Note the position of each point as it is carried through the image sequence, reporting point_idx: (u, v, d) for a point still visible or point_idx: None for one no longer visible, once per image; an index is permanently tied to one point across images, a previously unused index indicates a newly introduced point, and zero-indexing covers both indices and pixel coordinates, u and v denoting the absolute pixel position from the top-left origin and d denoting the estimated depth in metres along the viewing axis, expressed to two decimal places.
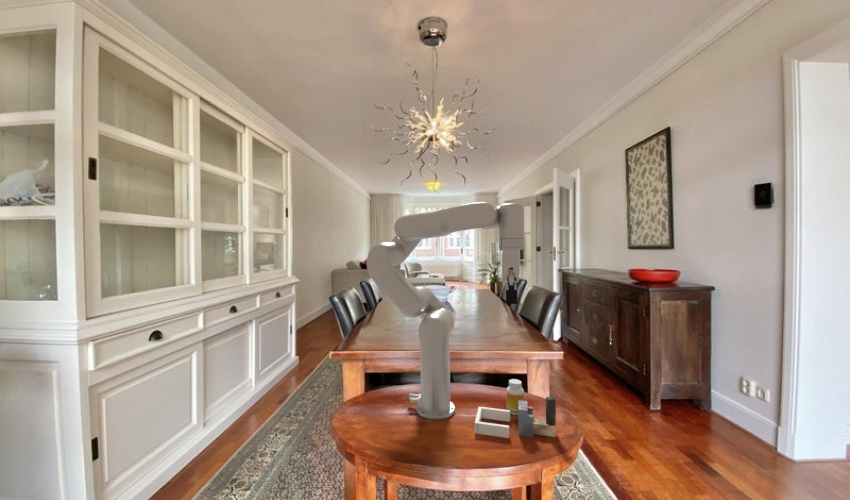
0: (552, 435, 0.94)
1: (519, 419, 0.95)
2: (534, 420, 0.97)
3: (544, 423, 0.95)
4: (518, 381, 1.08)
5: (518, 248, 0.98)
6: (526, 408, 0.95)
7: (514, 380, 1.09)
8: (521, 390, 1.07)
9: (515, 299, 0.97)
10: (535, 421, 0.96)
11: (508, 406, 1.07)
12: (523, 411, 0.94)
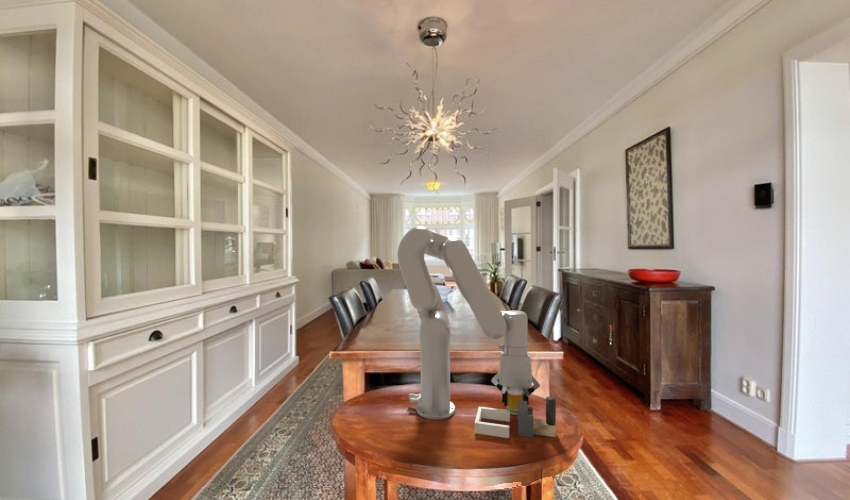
0: (552, 435, 0.94)
1: (519, 419, 0.95)
2: (534, 420, 0.97)
3: (544, 423, 0.95)
4: None
5: None
6: (526, 408, 0.95)
7: None
8: (521, 390, 1.07)
9: None
10: (535, 421, 0.96)
11: (508, 406, 1.07)
12: (523, 411, 0.94)
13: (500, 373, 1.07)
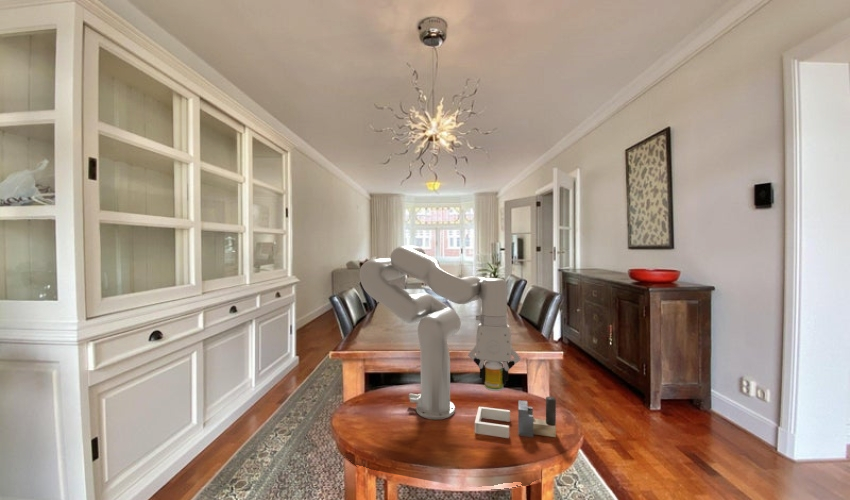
0: (552, 435, 0.94)
1: (519, 419, 0.95)
2: (534, 420, 0.97)
3: (544, 423, 0.95)
4: None
5: None
6: (526, 408, 0.95)
7: None
8: (500, 364, 0.98)
9: None
10: (535, 421, 0.96)
11: (486, 382, 0.98)
12: (523, 411, 0.94)
13: (477, 346, 0.98)
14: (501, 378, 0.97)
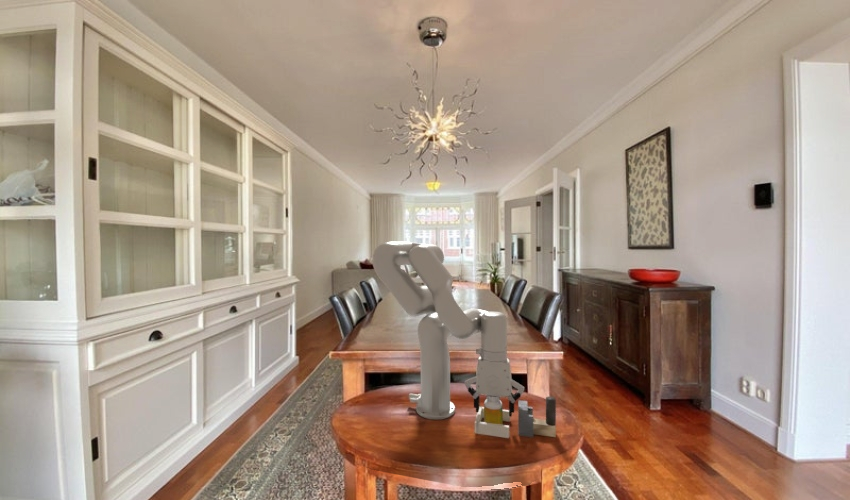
0: (552, 435, 0.94)
1: (519, 419, 0.95)
2: (534, 420, 0.97)
3: (544, 423, 0.95)
4: None
5: None
6: (526, 408, 0.95)
7: None
8: (499, 403, 0.98)
9: None
10: (535, 421, 0.96)
11: (485, 421, 0.98)
12: (523, 411, 0.94)
13: (477, 380, 0.98)
14: (500, 418, 0.97)
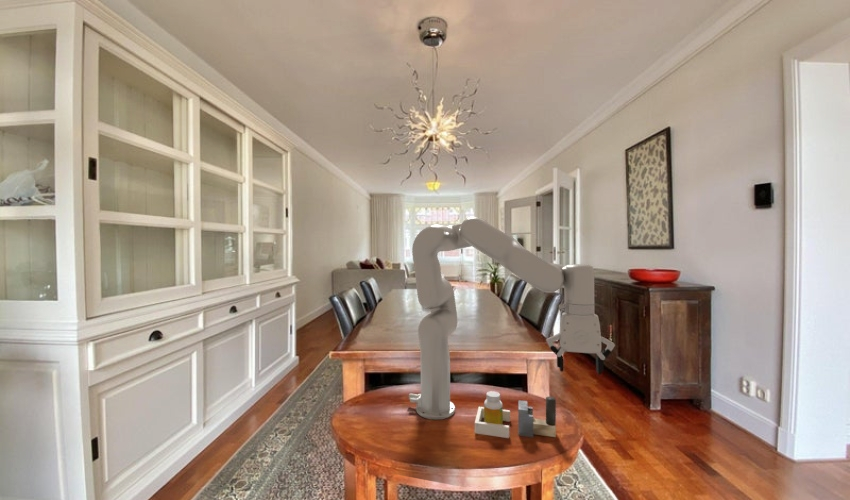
0: (552, 435, 0.94)
1: (519, 419, 0.95)
2: (534, 420, 0.97)
3: (544, 423, 0.95)
4: (496, 394, 0.99)
5: None
6: (526, 408, 0.95)
7: (492, 392, 1.00)
8: (499, 404, 0.98)
9: None
10: (535, 421, 0.96)
11: (485, 421, 0.98)
12: (523, 411, 0.94)
13: (562, 336, 0.91)
14: (500, 418, 0.97)
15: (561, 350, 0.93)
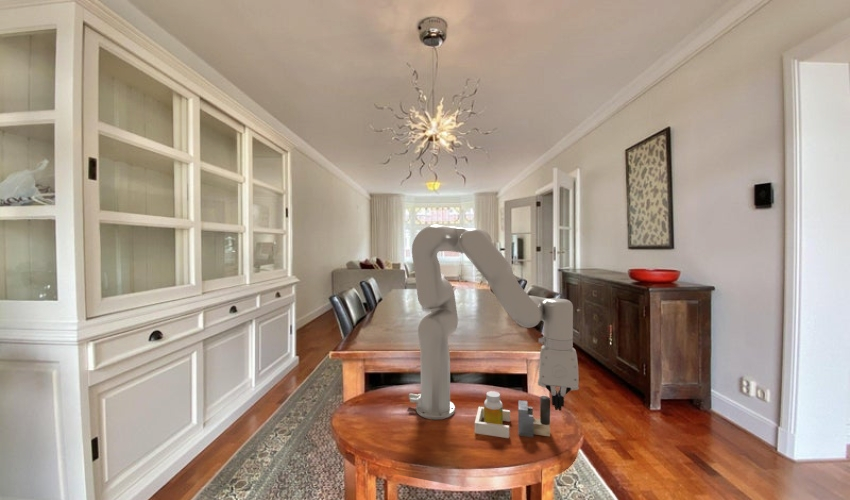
0: (546, 434, 0.94)
1: (519, 419, 0.95)
2: None
3: (538, 422, 0.95)
4: (496, 394, 0.99)
5: None
6: (526, 408, 0.95)
7: (492, 392, 1.00)
8: (499, 404, 0.98)
9: None
10: None
11: (485, 421, 0.98)
12: (523, 411, 0.94)
13: (541, 370, 0.93)
14: (500, 418, 0.97)
15: (552, 388, 0.94)
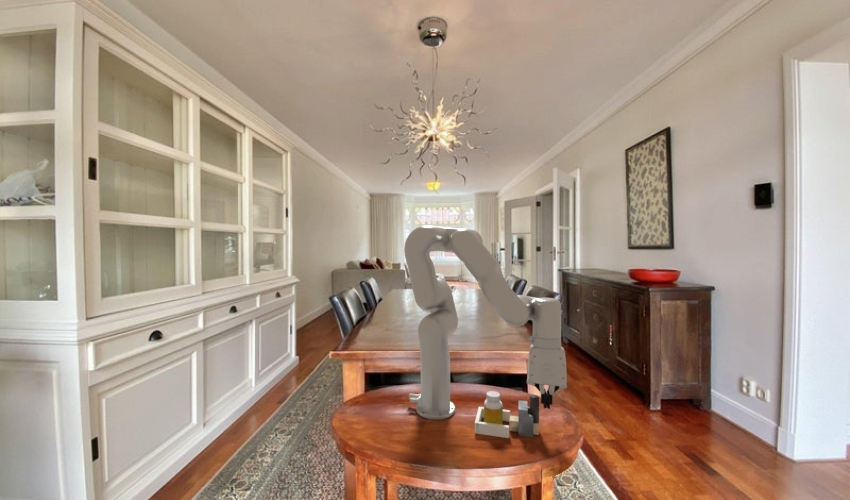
0: (535, 433, 0.95)
1: (519, 419, 0.95)
2: None
3: None
4: (496, 394, 0.99)
5: None
6: (526, 408, 0.95)
7: (492, 392, 1.00)
8: (499, 404, 0.98)
9: None
10: None
11: (485, 421, 0.98)
12: (523, 411, 0.94)
13: (530, 369, 0.94)
14: (500, 418, 0.97)
15: (540, 387, 0.94)
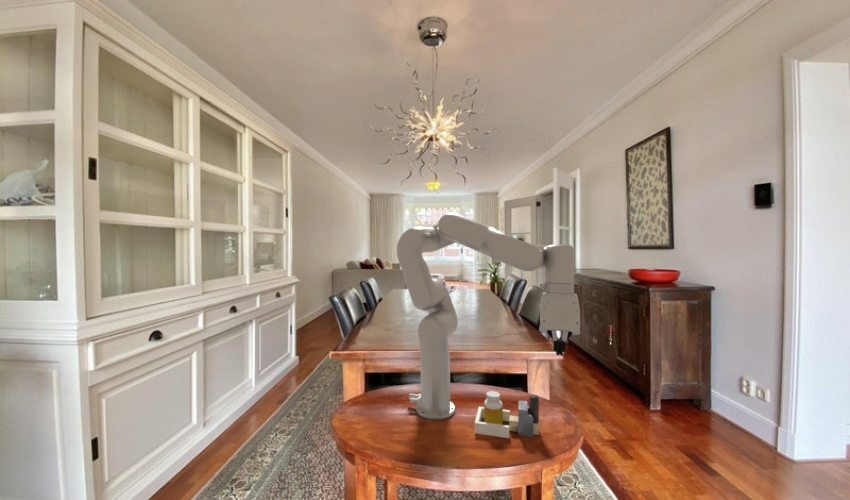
0: (535, 433, 0.95)
1: (519, 419, 0.95)
2: None
3: None
4: (496, 394, 0.99)
5: None
6: (526, 408, 0.95)
7: (492, 392, 1.00)
8: (499, 404, 0.98)
9: None
10: None
11: (485, 421, 0.98)
12: (523, 411, 0.94)
13: (542, 315, 0.93)
14: (500, 418, 0.97)
15: (553, 333, 0.93)
